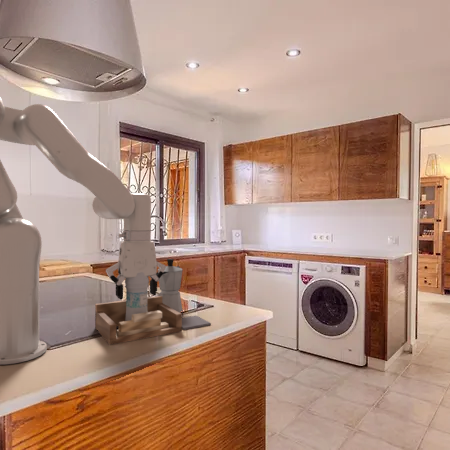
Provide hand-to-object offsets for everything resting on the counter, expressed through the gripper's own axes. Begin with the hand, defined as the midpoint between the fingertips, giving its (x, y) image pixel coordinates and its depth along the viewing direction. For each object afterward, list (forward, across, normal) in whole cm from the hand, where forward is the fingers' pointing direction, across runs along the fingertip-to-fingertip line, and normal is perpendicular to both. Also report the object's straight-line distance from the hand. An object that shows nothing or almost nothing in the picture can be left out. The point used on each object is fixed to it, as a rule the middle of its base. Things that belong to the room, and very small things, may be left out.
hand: (136, 296), depth 101 cm
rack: (+9, 0, -1) cm, 9 cm away
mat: (+9, +16, -4) cm, 18 cm away
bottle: (+10, 0, 0) cm, 10 cm away
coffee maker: (+10, +16, +12) cm, 22 cm away
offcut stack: (+9, 0, -6) cm, 11 cm away
